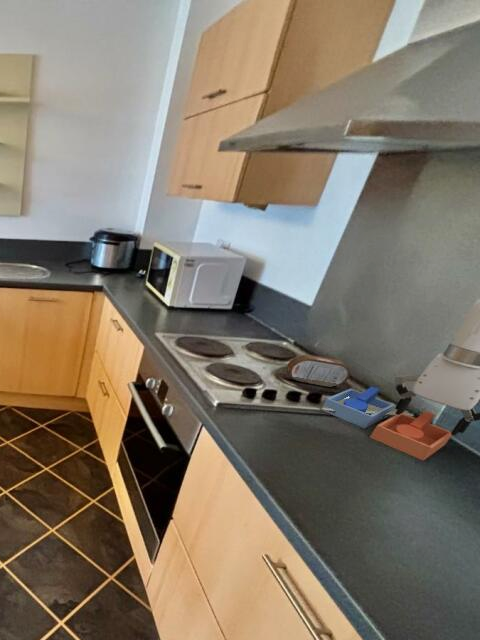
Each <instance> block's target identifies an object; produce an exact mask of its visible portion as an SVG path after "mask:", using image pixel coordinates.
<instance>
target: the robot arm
mask: <svg viewBox="0 0 480 640" xmlns="http://www.w3.org/2000/svg"><path fill="white" fill-rule="evenodd" d="M394 381H395V383H394V384H395V389H396V391H397V392H398V395H399V401H398V402H397V404H395V406H394V410H396V411H395V415H400V414H402V413H403V414H404V413H405V411H406V410H407V408H408V407H409V404H410V403H411V401H412V400H413V399H412V398H413V397H415V396H417V397H420V398H422V399H426V400H429V401H431V402H434V403H438V404H441V405H443V406H447V407H450V408H453V409H455V410H459V411H461V415H462V416H463V417H462V418H461V419H459V421H458V422H457V423H456V425H455V426H454V428H453V429H452V430H451V431H450V432H451V435H452V436H457V435H458V434H459V433H460V434H464V433H465V431H466V430H467V429H468V428H469V426H470V424H471V423H472V422H475V421H480V412H476V411H475V407H477V406H478V405H479V404H480V298H479V299H477V300H476V301H475V302H474V303H473V305H472V306H471V308H470V309H469V312H468V313H467V315H466V316H465V318H464V319H463V321H462V322H461V324H460V326H459V327H458V329H457V331H456V333H455V334H454V336H453V337H452V339H451V340H450V341H449V343H448V345H447V347H446V348H445V350H444V352H443V353H438V354H437V355H436V356H435V357H434V358H433V359H432V360H431V361H430V362H429V363H428V365H426V367H425V368H424V370H423V371H422V373H420V374H413V375H411V374H410V375H398V376H395V377H394ZM405 382H414V383H413V385H412V387H411V390H408V388H407V387H406V385H405V384H406V383H405Z"/></svg>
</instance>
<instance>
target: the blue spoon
mask: <svg viewBox="0 0 480 640" xmlns="http://www.w3.org/2000/svg"><path fill="white" fill-rule="evenodd" d="M379 392H380V388H378V387H374V386H372V385H371V386H370V387H369V388H367V389H366V390H365V391H363V392H361V393H362V394H361V395H360V396H358V397H357V399H356V398H349V399H346V400H345V401H344V403H343V404H344V405H346V406H349V407H351V408H354V409H356V410H359V411H361V412H364V413H365V412H366V410H367V408H368V403H369V402H371V401H372V400H373V399H374V398H377V396H378V394H379Z"/></svg>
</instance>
